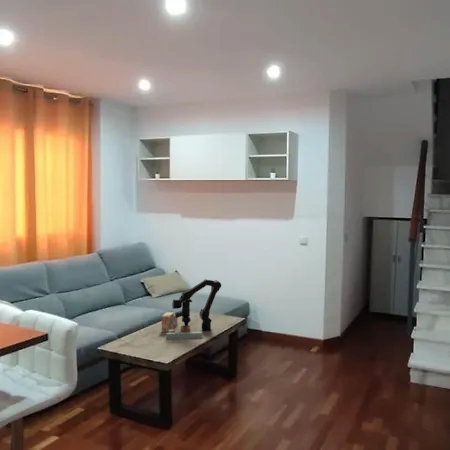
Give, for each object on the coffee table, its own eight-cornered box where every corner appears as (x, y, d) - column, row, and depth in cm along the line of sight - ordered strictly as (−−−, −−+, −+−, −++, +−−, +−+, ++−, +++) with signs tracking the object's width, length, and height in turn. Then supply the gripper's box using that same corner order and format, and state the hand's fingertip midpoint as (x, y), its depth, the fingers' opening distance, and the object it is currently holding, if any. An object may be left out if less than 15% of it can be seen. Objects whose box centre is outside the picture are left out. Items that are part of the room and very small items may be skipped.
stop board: (201, 336, 361) (201, 331, 361) (202, 337, 358) (202, 332, 358) (166, 337, 358) (166, 332, 358) (166, 338, 355) (166, 334, 355)
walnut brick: (189, 331, 373) (189, 325, 373) (190, 335, 363) (190, 329, 363) (180, 332, 372) (180, 325, 372) (181, 335, 362) (180, 329, 362)
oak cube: (173, 334, 366) (173, 329, 366) (175, 335, 362) (175, 330, 362) (168, 335, 365) (168, 329, 364) (169, 336, 361) (169, 331, 361)
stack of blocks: (170, 324, 394) (170, 309, 393) (177, 324, 393) (177, 309, 392) (161, 331, 373) (161, 315, 372) (169, 332, 372) (169, 316, 371)
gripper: (175, 305, 381) (175, 324, 382) (175, 311, 363) (175, 331, 364) (189, 304, 382) (189, 324, 384) (190, 310, 364) (190, 331, 365)
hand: (185, 327), depth 374 cm, fingers closed
